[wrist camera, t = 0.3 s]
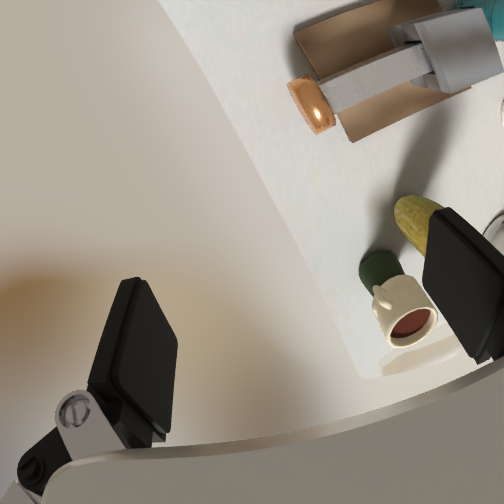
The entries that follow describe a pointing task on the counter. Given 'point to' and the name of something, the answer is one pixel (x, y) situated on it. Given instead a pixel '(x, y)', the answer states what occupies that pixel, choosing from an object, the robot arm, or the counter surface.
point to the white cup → (502, 114)
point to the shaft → (356, 84)
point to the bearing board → (364, 46)
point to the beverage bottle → (488, 14)
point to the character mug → (397, 300)
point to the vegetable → (415, 219)
